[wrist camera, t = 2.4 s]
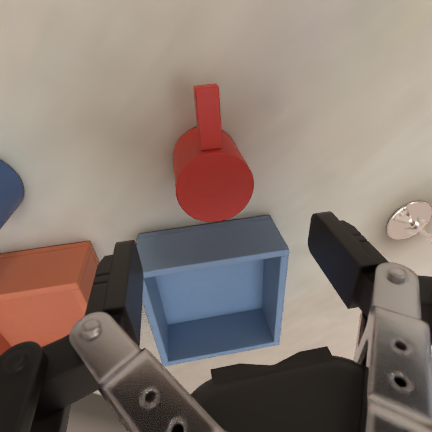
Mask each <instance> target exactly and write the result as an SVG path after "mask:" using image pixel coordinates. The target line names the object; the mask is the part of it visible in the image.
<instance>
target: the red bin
mask: <svg viewBox="0 0 432 432" xmlns="http://www.w3.org/2000/svg"><path fill="white" fill-rule="evenodd" d="M98 264H99V262H98V259H97V257H96V254H95V252H94V249H93V247H92V244H91V242H90V241H87V242H80V243H73V244H66V245H59V246H52V247H46V248H39V249H32V250H25V251H18V252H11V253H4V254H0V355H1V354H3V353H4V352H5V351H6V350H8V349H9V348H11V347H12V346H14V345H16V344H19V343H22V342H26V341H33V342H36V343H38V344H39V345H40V347H43V346H45V345H48V344H50V343H52V342H54V341H57V340H59V339H61V338H63V337H65V336H67V335H68V334H70V331H71V329H72V327H73V326H74V325H75V323H76V322H77V321H78V320H80V319H81V318H82V317H84V315H85V312H86V308H87V304H88V300H89V296H90V293H91V289H92V285H93V281H94V277H95V273H96V269H97V266H98Z"/></svg>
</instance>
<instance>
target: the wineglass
mask: <svg viewBox="0 0 432 432" xmlns="http://www.w3.org/2000/svg"><path fill="white" fill-rule="evenodd" d="M431 216H432V208H431V206H430V205H429V204H428V203H427V202H424V201H416V202H412V203H409V204H407V205H405V206H403V207H401V208H400V209H399V210H397V211H396V212H395V213H394V214H393V215H392V217H391V218H390V220H389V221H388V224H387V228H386V231H387V234H388V236H389V237H391V238H393V239H396V240H402V239H406V238H409V237H412V236H414V235H415V234H417V233H420V234H421V235H423V236H424V237H425V238H426V239H428V240H429V241H430V242H431V243H432V236H431V235H430V234H429V233H428V232H426V231H425V230H424V229H423V228H424V227H425V226H426V225H427V224H428V222H429V220H430V218H431Z"/></svg>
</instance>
